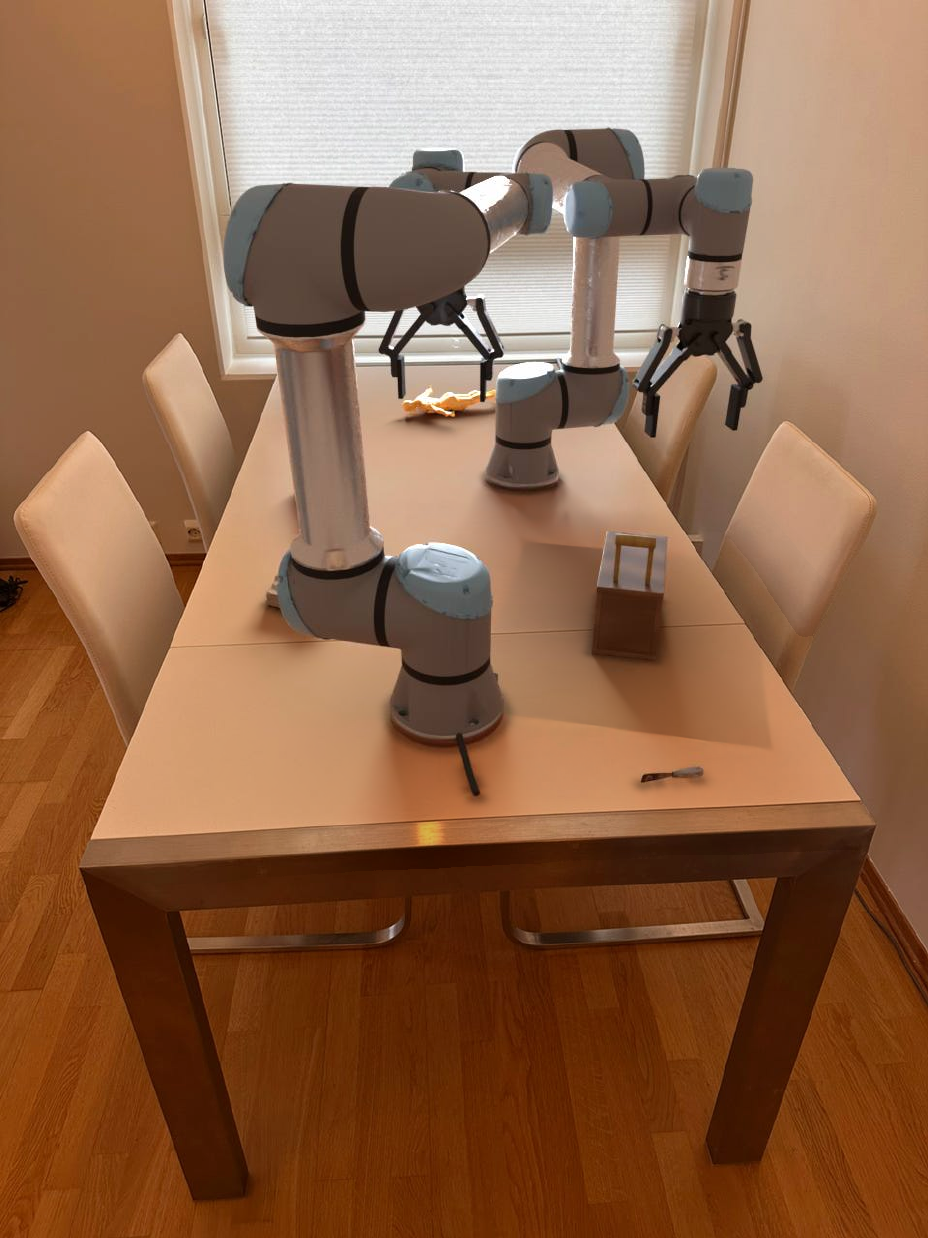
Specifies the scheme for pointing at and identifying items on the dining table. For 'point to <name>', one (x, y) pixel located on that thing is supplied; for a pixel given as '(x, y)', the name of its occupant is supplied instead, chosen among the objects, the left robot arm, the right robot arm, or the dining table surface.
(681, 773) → the putty knife
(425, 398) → the human figure
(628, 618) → the chest
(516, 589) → the dining table surface
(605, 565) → the lid
